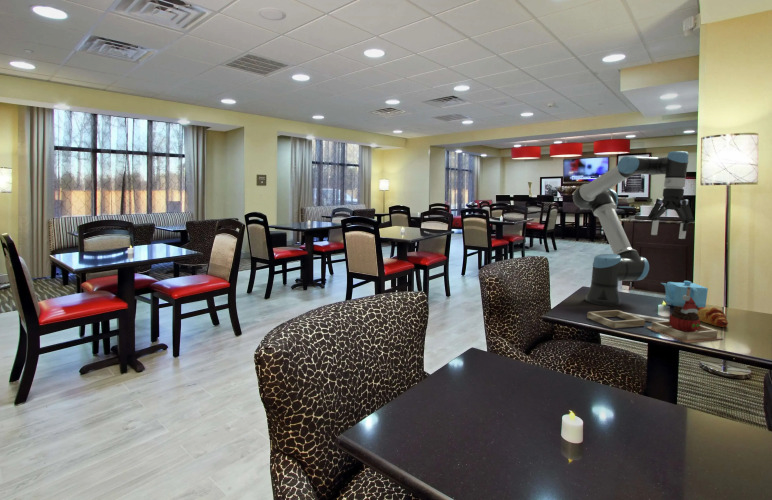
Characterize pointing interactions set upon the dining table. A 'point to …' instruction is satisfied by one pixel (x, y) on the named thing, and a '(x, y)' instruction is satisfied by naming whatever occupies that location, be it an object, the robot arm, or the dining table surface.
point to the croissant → (712, 316)
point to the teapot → (679, 289)
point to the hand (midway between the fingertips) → (667, 236)
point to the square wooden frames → (653, 325)
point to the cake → (685, 315)
